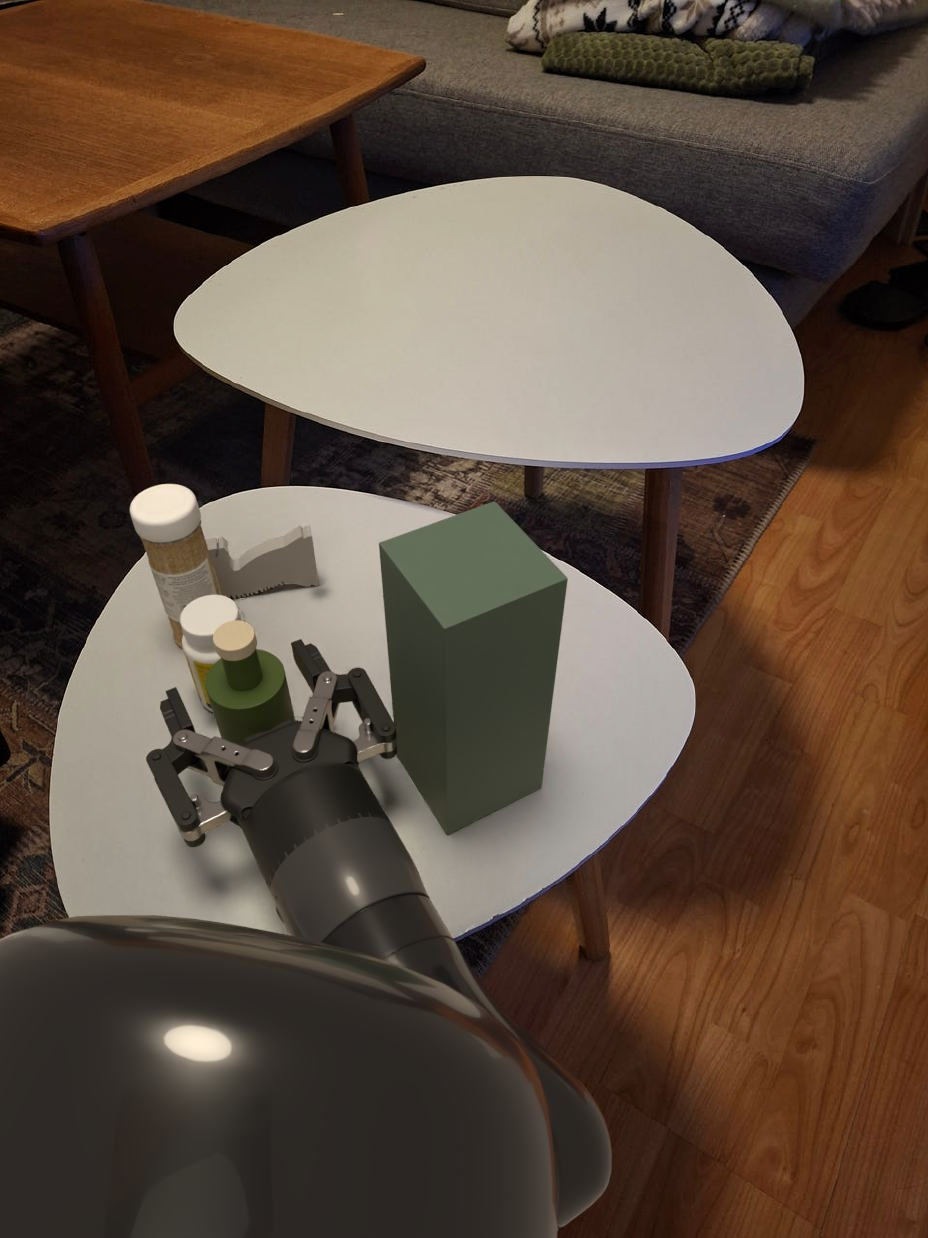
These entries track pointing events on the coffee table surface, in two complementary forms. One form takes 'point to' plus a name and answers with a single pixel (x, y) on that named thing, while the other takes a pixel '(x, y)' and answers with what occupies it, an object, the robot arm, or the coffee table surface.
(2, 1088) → the robot arm
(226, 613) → the supplement bottle
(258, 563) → the grey tape dispenser
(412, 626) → the pedestal
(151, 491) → the sprinkles bottle
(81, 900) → the coffee table surface
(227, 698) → the olive bottle
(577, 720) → the coffee table surface
